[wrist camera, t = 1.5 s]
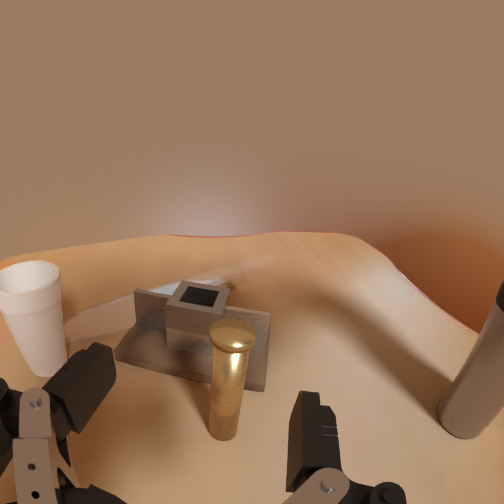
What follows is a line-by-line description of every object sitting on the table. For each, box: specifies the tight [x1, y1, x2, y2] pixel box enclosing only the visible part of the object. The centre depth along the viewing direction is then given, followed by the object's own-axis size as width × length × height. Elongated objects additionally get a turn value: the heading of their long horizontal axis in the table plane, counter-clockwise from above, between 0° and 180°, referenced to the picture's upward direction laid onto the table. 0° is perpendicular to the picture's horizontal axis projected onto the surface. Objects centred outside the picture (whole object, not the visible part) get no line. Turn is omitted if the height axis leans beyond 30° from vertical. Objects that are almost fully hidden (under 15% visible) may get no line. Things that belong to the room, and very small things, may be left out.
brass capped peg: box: [209, 319, 256, 441], centre depth 24 cm, size 4×4×14 cm
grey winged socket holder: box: [134, 281, 271, 357], centre depth 39 cm, size 19×7×7 cm, turn 84°
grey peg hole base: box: [114, 323, 270, 392], centre depth 40 cm, size 20×14×2 cm
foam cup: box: [0, 261, 68, 377], centre depth 28 cm, size 10×9×13 cm
